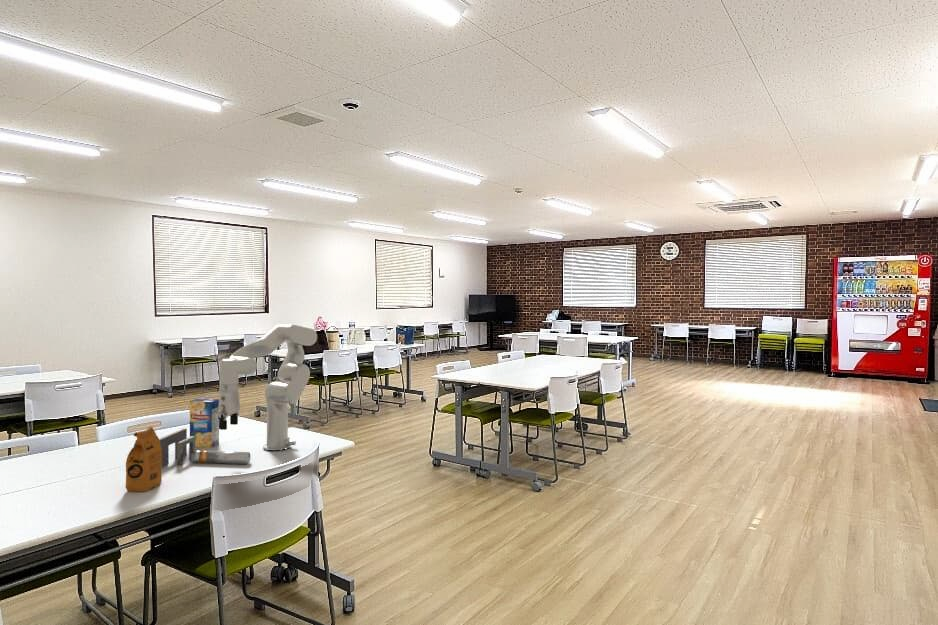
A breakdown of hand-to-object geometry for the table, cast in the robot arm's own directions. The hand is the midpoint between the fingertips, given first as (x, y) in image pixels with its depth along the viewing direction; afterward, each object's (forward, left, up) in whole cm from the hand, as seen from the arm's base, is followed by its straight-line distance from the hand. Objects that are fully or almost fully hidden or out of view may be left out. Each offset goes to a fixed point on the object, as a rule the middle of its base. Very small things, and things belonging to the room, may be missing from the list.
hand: (228, 426), depth 242 cm
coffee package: (+17, +32, -16) cm, 40 cm away
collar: (+19, 0, -16) cm, 25 cm away
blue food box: (+25, -26, -16) cm, 40 cm away
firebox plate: (+25, 0, -16) cm, 30 cm away
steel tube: (+3, 0, -16) cm, 16 cm away
